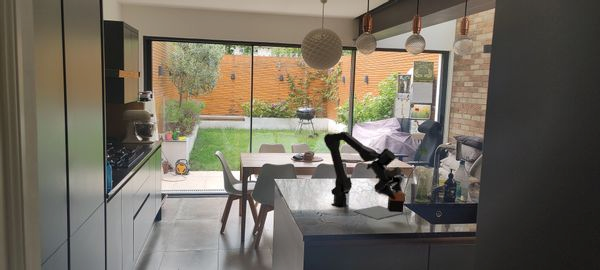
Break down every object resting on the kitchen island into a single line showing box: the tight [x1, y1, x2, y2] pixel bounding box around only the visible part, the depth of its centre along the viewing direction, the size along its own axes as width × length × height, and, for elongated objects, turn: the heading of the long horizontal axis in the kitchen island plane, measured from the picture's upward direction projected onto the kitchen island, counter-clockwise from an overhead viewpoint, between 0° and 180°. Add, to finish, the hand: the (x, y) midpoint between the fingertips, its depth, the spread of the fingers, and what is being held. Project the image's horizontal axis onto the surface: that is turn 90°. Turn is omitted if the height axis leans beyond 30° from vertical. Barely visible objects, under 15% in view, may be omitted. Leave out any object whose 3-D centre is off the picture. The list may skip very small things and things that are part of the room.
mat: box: [353, 205, 404, 220], centre depth 220 cm, size 16×20×1 cm
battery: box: [387, 189, 405, 213], centre depth 207 cm, size 4×7×10 cm, turn 92°
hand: (398, 197), depth 206 cm, fingers closed on battery, 7 cm apart
